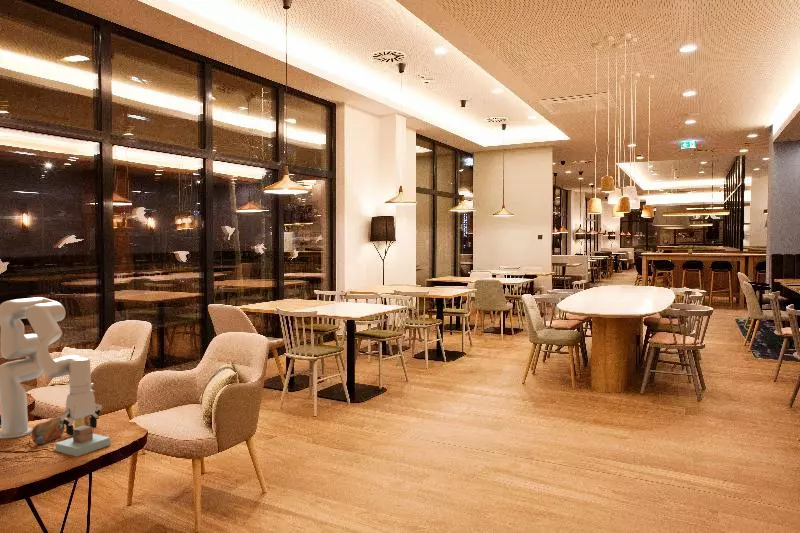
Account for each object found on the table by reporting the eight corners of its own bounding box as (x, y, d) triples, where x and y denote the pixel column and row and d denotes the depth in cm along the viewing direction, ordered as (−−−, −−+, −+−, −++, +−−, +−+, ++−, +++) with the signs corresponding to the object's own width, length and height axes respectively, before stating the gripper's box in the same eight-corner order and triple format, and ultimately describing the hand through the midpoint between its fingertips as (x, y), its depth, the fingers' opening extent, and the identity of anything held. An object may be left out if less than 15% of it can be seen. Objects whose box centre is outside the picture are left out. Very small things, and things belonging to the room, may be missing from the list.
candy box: (89, 422, 266) (87, 389, 265) (97, 422, 265) (95, 389, 264) (74, 428, 257) (72, 394, 256) (82, 429, 256) (80, 394, 255)
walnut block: (73, 441, 232) (72, 429, 231) (84, 437, 236) (84, 425, 236) (81, 443, 229) (80, 430, 229) (92, 439, 234) (92, 427, 233)
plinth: (55, 450, 230) (55, 443, 230) (89, 439, 242) (88, 432, 242) (77, 456, 223) (76, 448, 223) (110, 444, 236) (110, 437, 235)
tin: (37, 447, 235) (36, 426, 234) (30, 446, 235) (29, 426, 235) (65, 434, 249) (64, 415, 249) (59, 434, 250) (58, 414, 250)
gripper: (94, 382, 241) (96, 423, 242) (53, 393, 226) (54, 436, 227) (106, 385, 237) (107, 426, 238) (64, 395, 222) (66, 439, 223)
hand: (81, 431), depth 233 cm, fingers open, 9 cm apart
